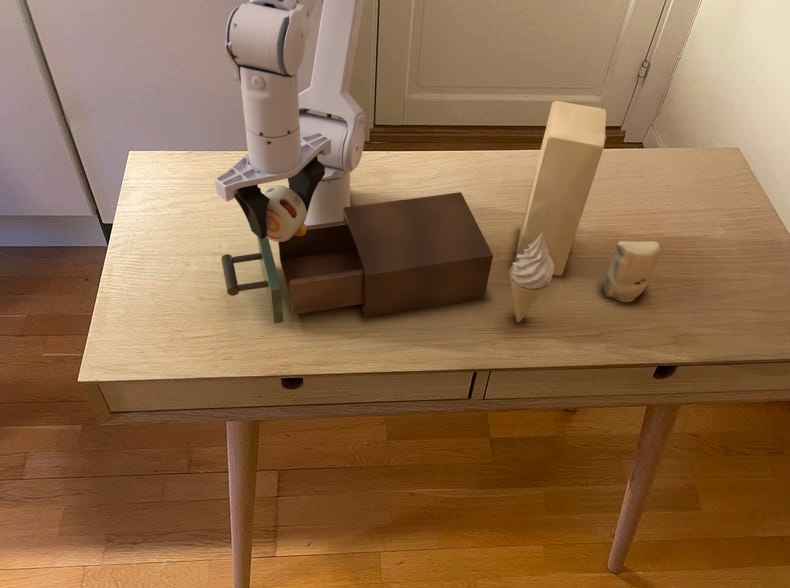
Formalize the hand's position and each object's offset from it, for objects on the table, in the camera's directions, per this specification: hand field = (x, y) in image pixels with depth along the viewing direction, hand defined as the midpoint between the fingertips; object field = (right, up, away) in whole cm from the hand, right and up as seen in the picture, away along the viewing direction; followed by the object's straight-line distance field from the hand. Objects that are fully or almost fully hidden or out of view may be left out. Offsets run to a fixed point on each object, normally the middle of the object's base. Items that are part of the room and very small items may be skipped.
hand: (279, 223), depth 90 cm
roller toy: (0, -1, +1) cm, 2 cm away
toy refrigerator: (+34, -2, +15) cm, 37 cm away
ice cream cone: (+30, -11, +7) cm, 32 cm away
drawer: (+2, -7, +7) cm, 10 cm away
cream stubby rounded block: (+44, -7, +11) cm, 46 cm away
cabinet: (+16, -5, +11) cm, 20 cm away
